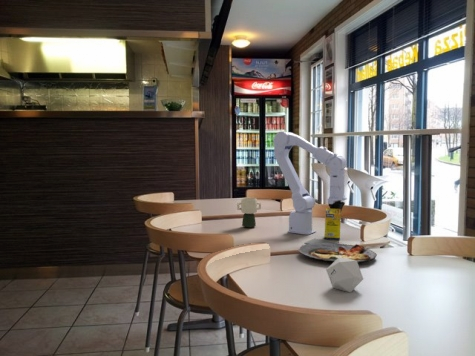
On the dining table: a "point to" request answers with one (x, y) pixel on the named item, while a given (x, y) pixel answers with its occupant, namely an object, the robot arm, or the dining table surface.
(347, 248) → the food plate
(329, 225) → the supplement box
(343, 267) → the die
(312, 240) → the mat
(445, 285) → the dining table surface
